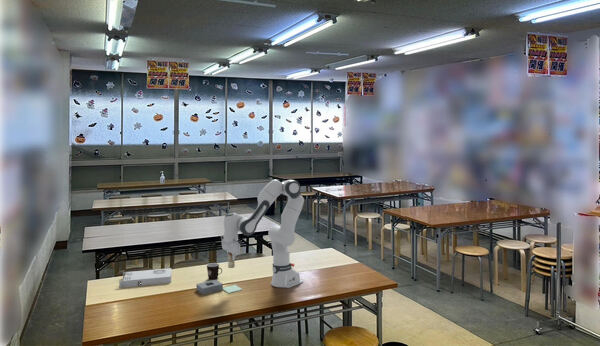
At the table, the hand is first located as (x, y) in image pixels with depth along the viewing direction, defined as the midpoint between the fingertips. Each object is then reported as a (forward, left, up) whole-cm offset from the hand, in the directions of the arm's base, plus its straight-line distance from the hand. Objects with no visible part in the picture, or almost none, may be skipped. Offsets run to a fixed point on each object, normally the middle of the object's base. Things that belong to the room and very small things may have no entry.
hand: (231, 258), depth 269 cm
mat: (0, 0, -21) cm, 21 cm away
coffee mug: (+1, -25, -21) cm, 33 cm away
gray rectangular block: (+12, -8, -21) cm, 25 cm away
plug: (0, 0, -6) cm, 6 cm away
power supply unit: (+40, -51, -22) cm, 68 cm away
